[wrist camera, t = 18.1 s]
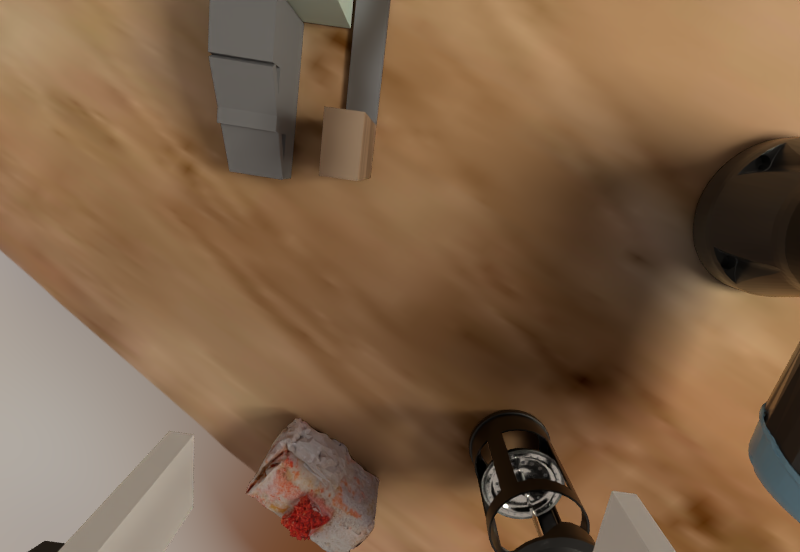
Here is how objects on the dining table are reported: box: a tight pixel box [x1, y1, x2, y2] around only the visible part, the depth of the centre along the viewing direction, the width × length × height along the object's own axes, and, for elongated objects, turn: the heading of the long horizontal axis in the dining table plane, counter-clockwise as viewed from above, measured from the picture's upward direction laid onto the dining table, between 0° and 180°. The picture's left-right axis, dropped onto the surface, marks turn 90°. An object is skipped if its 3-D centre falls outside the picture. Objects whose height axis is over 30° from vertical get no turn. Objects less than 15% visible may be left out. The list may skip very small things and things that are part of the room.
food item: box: [246, 418, 379, 552], centre depth 45 cm, size 14×8×10 cm, turn 49°
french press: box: [469, 410, 595, 552], centre depth 38 cm, size 12×9×23 cm
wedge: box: [208, 0, 304, 180], centre depth 36 cm, size 5×14×8 cm, turn 171°
